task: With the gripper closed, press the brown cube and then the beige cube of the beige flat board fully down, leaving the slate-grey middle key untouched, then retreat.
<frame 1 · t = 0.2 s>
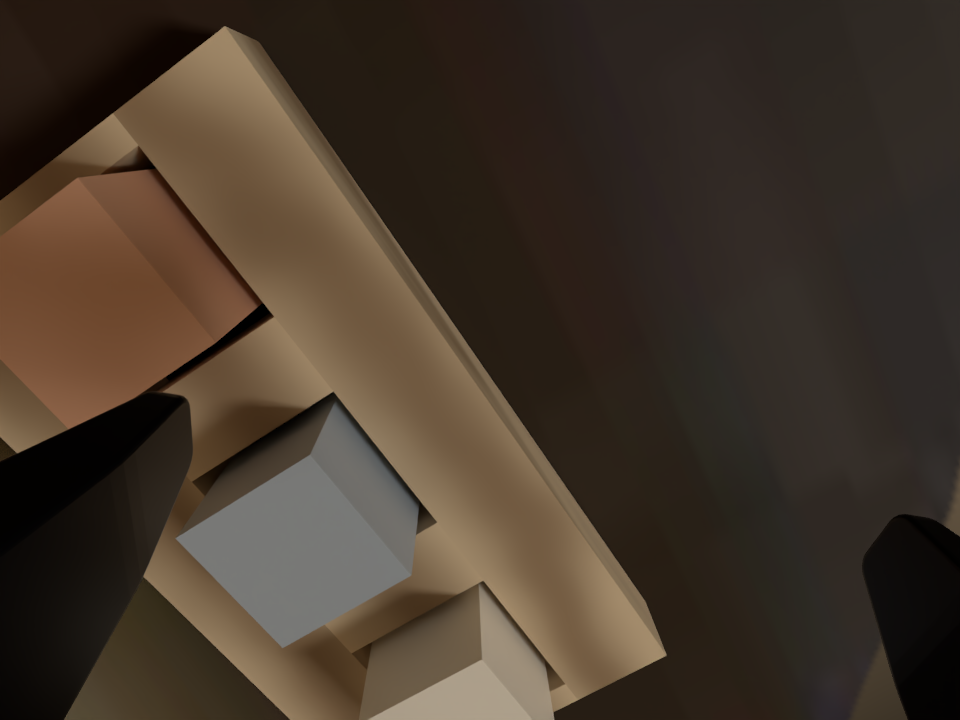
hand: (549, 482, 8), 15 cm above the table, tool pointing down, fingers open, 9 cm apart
key slate: (313, 510, 21), point 3 cm above the table, slide at 0.0 cm
brown cube: (125, 293, 19), point 3 cm above the table, slide at 0.0 cm
beige flat board: (333, 460, 25), on the table
beige cube: (460, 679, 24), point 3 cm above the table, slide at 0.0 cm
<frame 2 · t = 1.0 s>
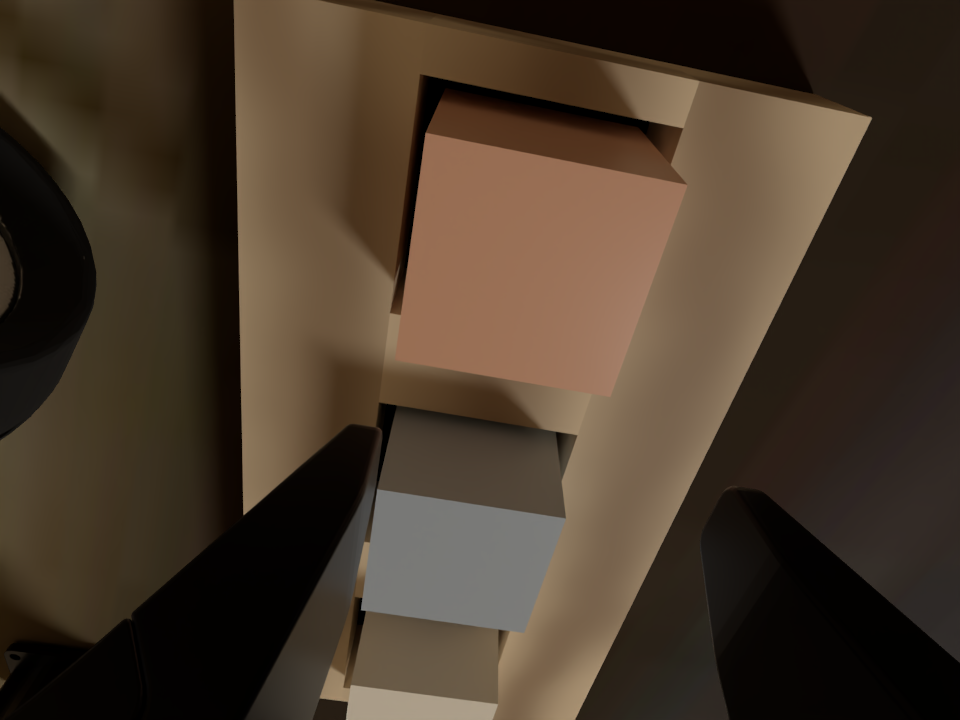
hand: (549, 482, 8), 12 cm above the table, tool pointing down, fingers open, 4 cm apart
key slate: (461, 503, 20), point 4 cm above the table, slide at 0.0 cm
brown cube: (524, 236, 15), point 4 cm above the table, slide at 0.0 cm
beige flat board: (466, 433, 23), on the table
beige cube: (422, 667, 25), point 4 cm above the table, slide at 0.0 cm
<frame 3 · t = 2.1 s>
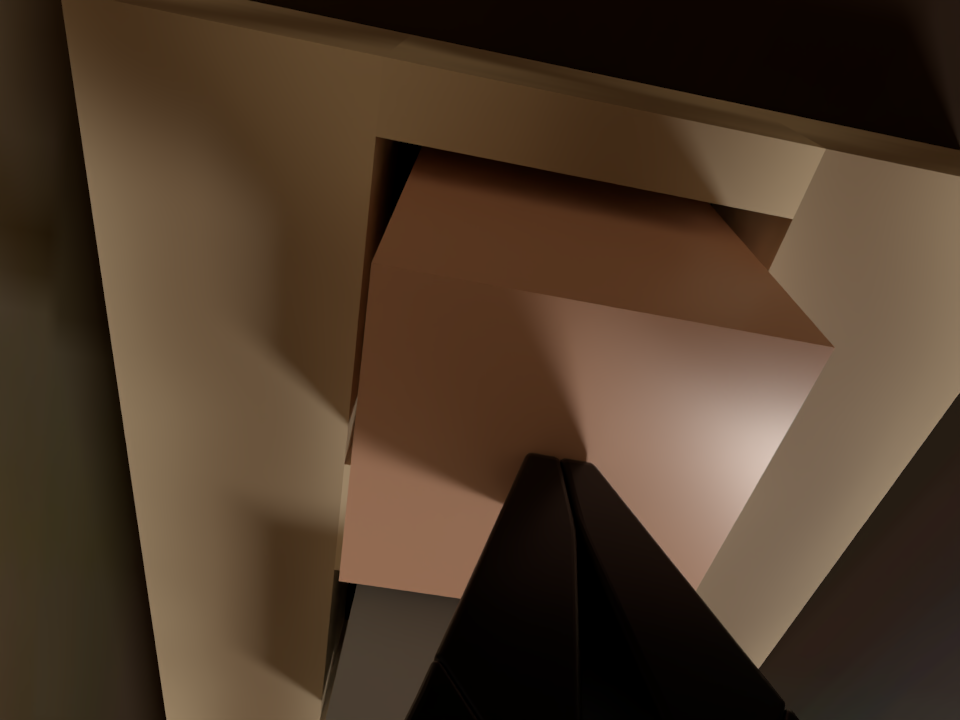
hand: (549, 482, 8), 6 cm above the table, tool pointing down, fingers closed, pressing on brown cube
key slate: (450, 690, 15), point 4 cm above the table, slide at 0.0 cm
brown cube: (540, 371, 10), point 3 cm above the table, slide at 0.1 cm, touching gripper
beige flat board: (458, 568, 18), on the table
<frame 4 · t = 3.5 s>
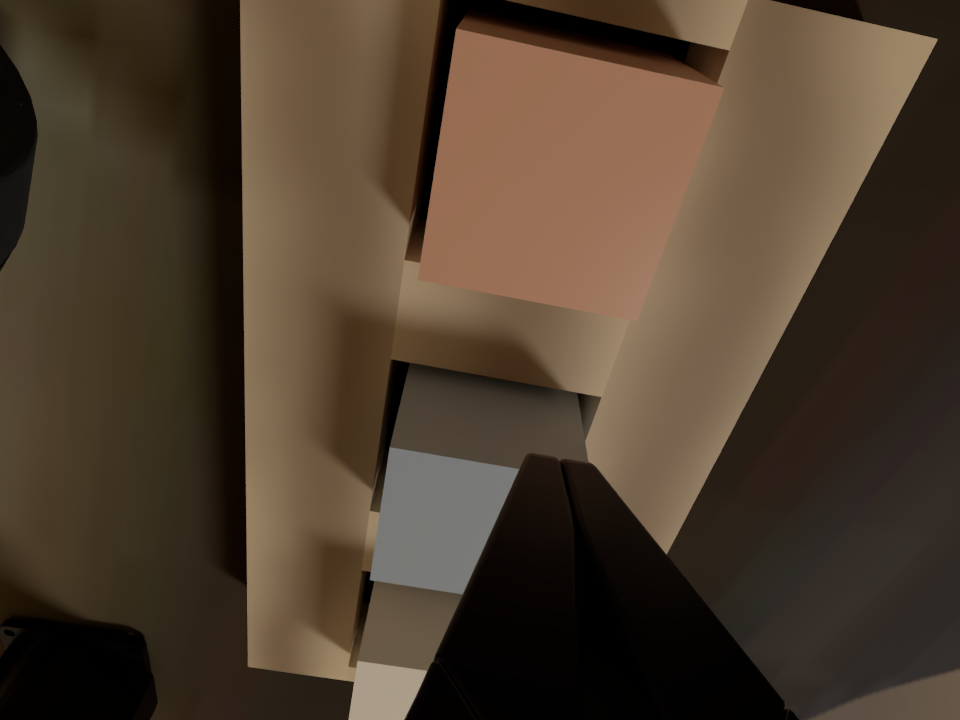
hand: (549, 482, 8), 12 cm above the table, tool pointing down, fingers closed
key slate: (476, 469, 19), point 3 cm above the table, slide at 0.0 cm
brown cube: (549, 159, 15), point 2 cm above the table, slide at 1.0 cm
beige flat board: (480, 399, 22), on the table
beige cube: (431, 645, 24), point 4 cm above the table, slide at 0.0 cm
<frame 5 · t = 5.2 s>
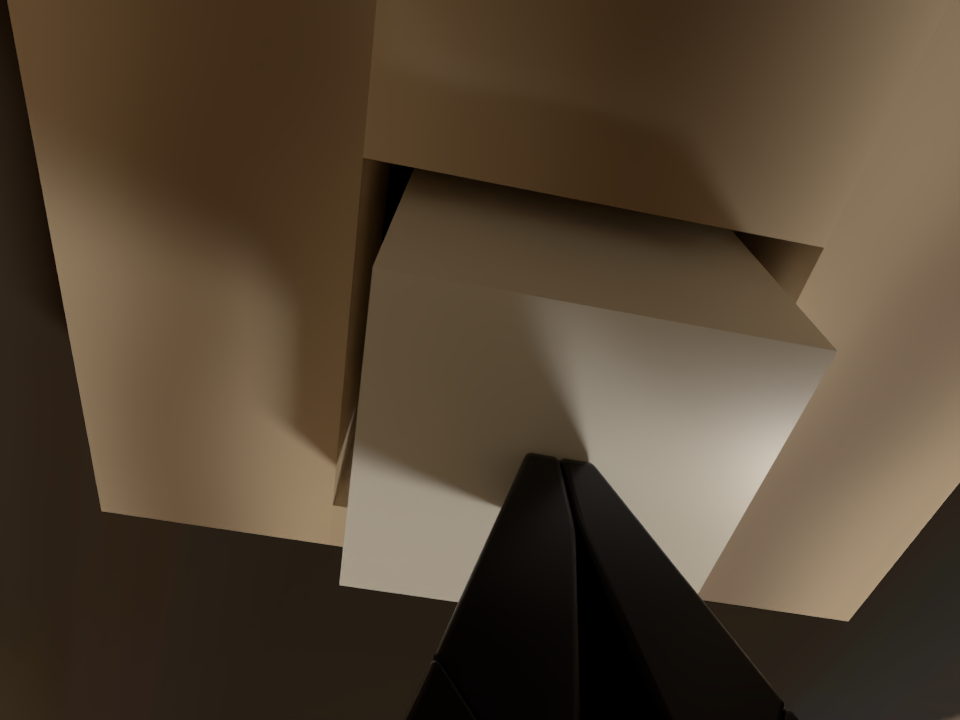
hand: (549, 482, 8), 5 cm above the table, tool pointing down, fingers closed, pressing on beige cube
beige cube: (541, 374, 10), point 2 cm above the table, slide at 1.1 cm, touching gripper
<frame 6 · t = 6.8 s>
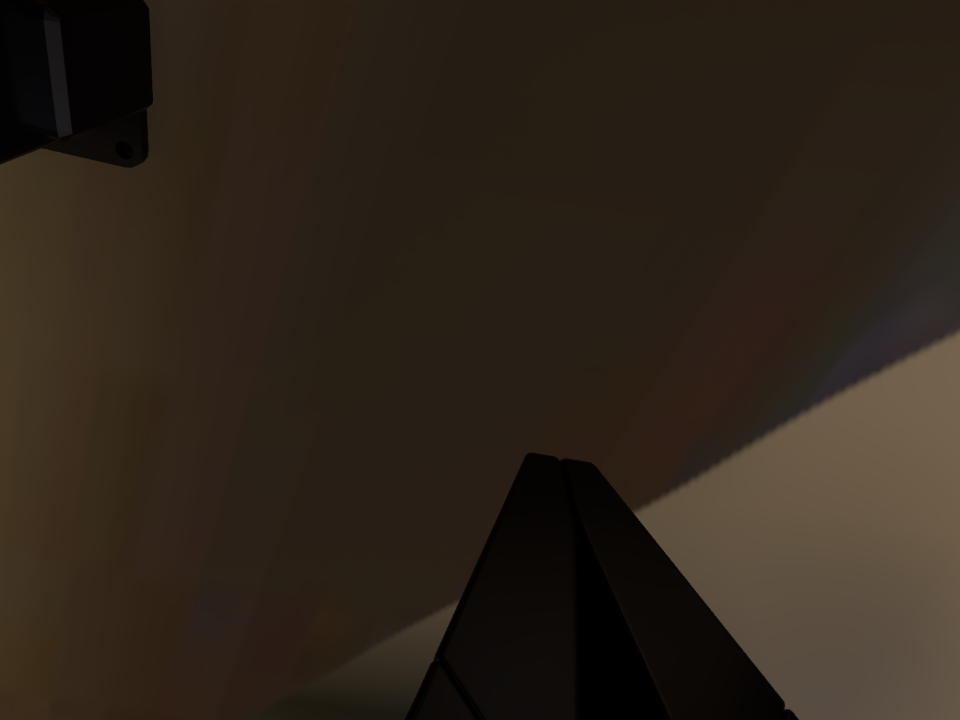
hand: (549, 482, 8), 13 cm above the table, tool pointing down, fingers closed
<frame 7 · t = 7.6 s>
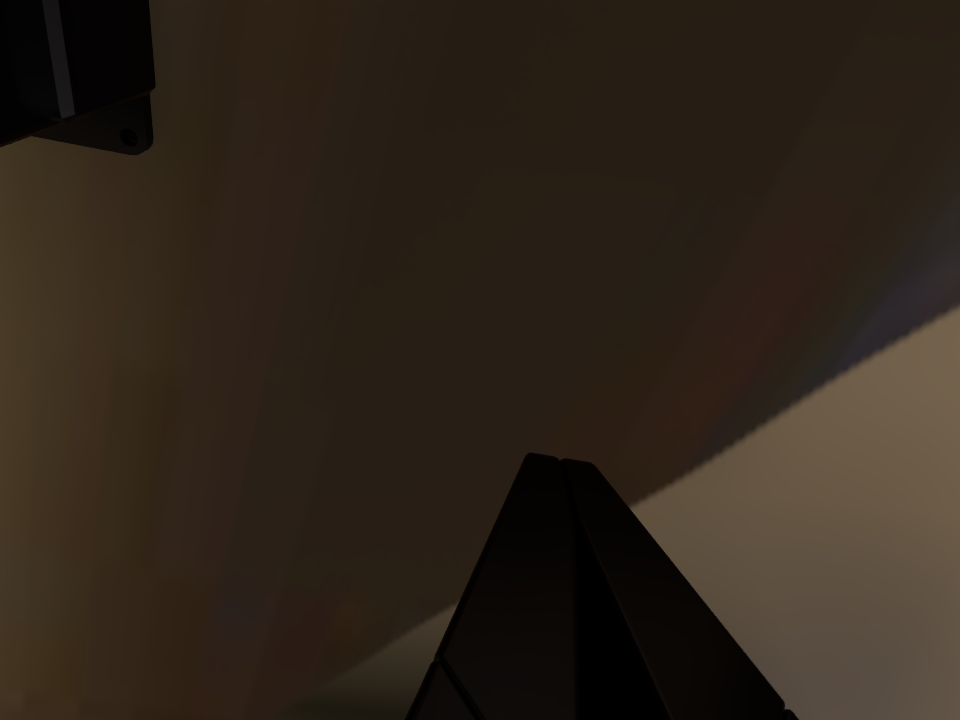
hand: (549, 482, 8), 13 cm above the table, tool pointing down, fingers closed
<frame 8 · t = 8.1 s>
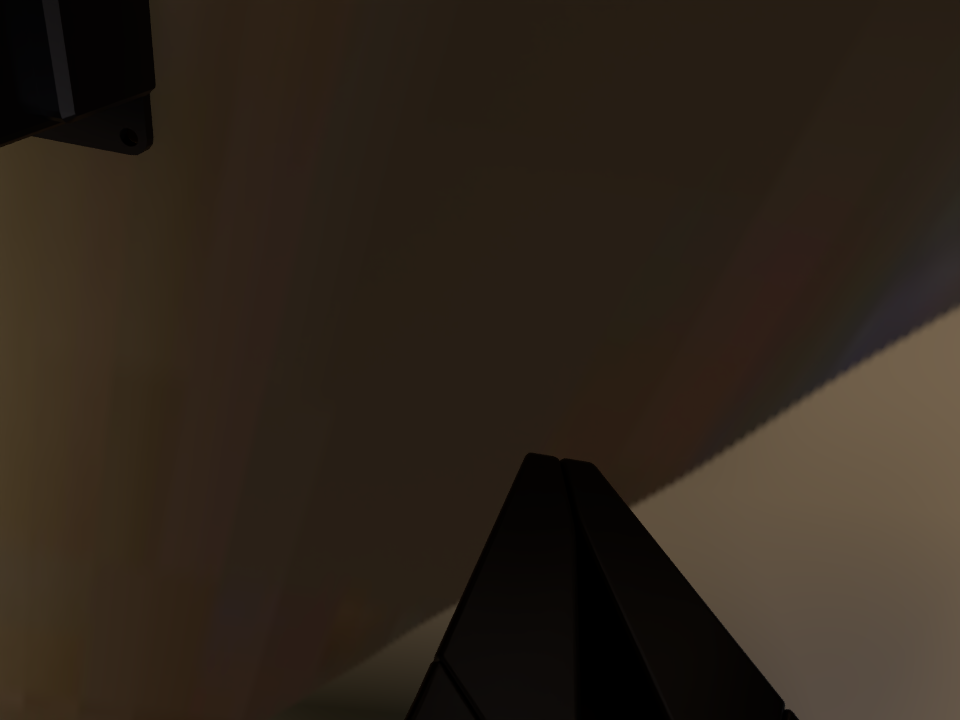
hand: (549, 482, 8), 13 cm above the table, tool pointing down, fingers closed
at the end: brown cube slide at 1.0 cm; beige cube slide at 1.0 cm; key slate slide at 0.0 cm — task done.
